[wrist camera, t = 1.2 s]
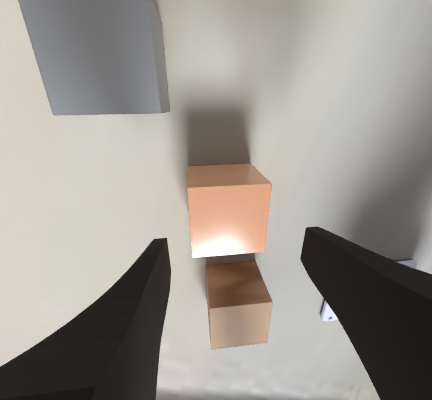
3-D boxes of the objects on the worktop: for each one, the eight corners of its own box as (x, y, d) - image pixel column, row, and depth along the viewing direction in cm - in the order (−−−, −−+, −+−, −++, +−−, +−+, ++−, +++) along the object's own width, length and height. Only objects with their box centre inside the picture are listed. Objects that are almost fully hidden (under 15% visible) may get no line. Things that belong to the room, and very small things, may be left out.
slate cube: (161, 23, 13) (145, -23, 8) (170, 111, 15) (160, 113, 10) (75, 21, 12) (9, -28, 8) (96, 112, 15) (53, 115, 10)
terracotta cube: (250, 163, 17) (271, 183, 13) (247, 217, 19) (265, 251, 15) (188, 165, 17) (187, 188, 12) (192, 221, 19) (192, 257, 14)
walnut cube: (255, 260, 21) (272, 302, 17) (252, 296, 23) (267, 342, 19) (205, 264, 21) (209, 308, 16) (207, 301, 23) (211, 349, 18)
